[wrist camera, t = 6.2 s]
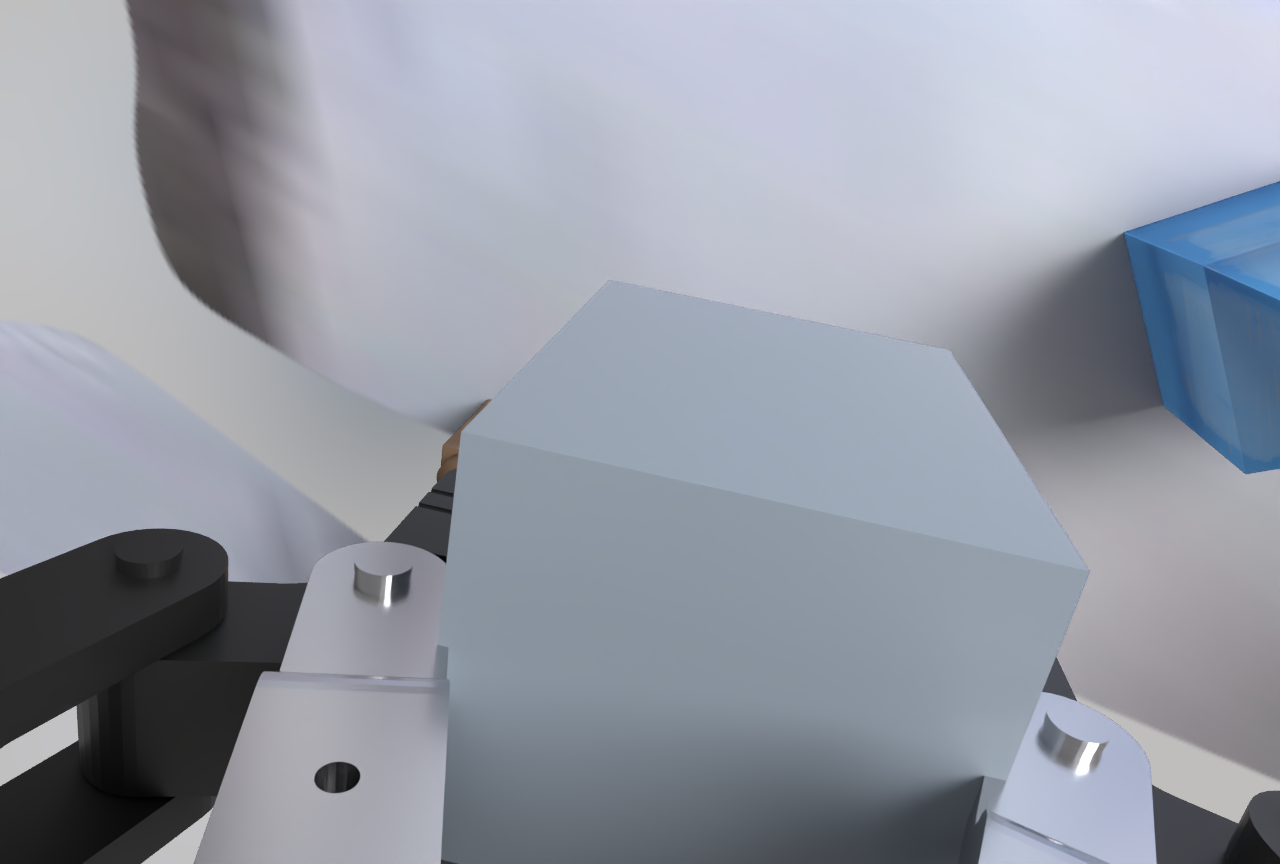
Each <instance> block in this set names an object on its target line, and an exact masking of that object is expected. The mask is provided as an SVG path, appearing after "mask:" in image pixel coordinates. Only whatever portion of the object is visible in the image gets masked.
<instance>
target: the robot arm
mask: <svg viewBox="0 0 1280 864" xmlns="http://www.w3.org/2000/svg"><path fill="white" fill-rule="evenodd" d="M456 473H457V468H455V469H453V470H450V471H448V472H446V474H445V475H444V476H443V477H442V478H441V479H440V480H439V481H438V482H437V484H436V485H435V486H434V487H433V488H432V490H431V492H428V493H427V495H426V496H425V497H424V498H423V499H422V500H421V501H420V502H419V506H418V507H417V506H416V507H415V508H414V509H413V510H412V511H411V512H410V513H409V515H408V516H407V517H406V518H405V519H404V520H403V521H402V522H401V524H400V525H398V527H397V528H396V529H395V530H394V531H393V532H392V533H391V534H390V536H389V537H388V538H387V539H386V540H385V541H384V542H365V543H358V544H353V545H349V546H344V547H342V548H339V549H336V550H334V551H332V552H330V553H328V554H326V555H325V556H324V557H322V558H321V559H320V560H319V561H318V562H317V563H316V564H315V566H314V568H313V570H312V572H311V575H310V578H309V581H308V583H297V584H277V583H253V582H229V581H228V556H227V552H226V551H225V550H224V548H223V547H222V546H221V545H220V544H219V543H217V542H216V541H214V540H212V539H210V538H209V537H206V536H203V535H201V534H197V533H193V532H189V531H183V530H177V529H143V530H134V531H128V532H123V533H119V534H115V535H111V536H108V537H105V538H102V539H99V540H97V541H94V542H91V543H89V544H86V545H84V546H81V547H79V548H76V549H74V550H71V551H69V552H66V553H64V554H61V555H59V556H56V557H54V558H51V559H49V560H46V561H44V562H41V563H39V564H36V565H34V566H31V567H28V568H26V569H23V570H21V571H18V572H16V573H13V574H11V575H8V576H6V577H3V578H1V579H0V748H2V747H3V746H4V745H6V744H8V743H9V742H11V741H13V740H15V739H16V738H18V737H20V736H22V735H24V734H25V733H27V732H29V731H31V730H33V729H34V728H36V727H38V726H40V725H42V724H44V723H45V722H47V721H49V720H51V719H53V718H54V717H56V716H58V715H60V714H62V713H63V712H65V711H67V710H69V709H71V708H72V707H74V706H76V705H77V720H78V736H79V737H78V738H79V740H78V741H77V742H75V743H73V744H71V745H70V746H68V747H66V748H65V749H63V750H61V751H60V752H58V753H56V754H55V755H53V756H51V757H49V758H48V759H46V760H44V761H43V762H41V763H39V764H38V765H36V766H34V767H32V768H31V769H29V770H27V771H26V772H24V773H22V774H21V775H19V776H17V777H15V778H14V779H12V780H10V781H9V782H7V783H6V784H3V785H2V786H0V864H141V863H142V862H143V861H145V860H146V859H147V858H149V857H150V856H151V855H153V854H154V853H155V852H157V851H158V850H159V849H161V848H162V847H163V846H165V845H166V844H167V843H169V842H170V841H171V840H173V839H174V838H175V837H177V836H178V835H179V834H180V833H182V832H183V831H184V830H186V829H187V828H188V827H190V826H191V825H192V824H194V823H195V822H196V821H198V820H199V819H200V818H202V817H203V816H204V815H205V814H206V813H207V812H209V811H210V810H211V809H212V808H213V810H212V812H211V815H210V818H209V821H208V824H207V827H206V830H205V832H204V836H203V838H202V841H201V844H200V847H199V850H198V853H197V855H196V858H195V861H194V864H457V863H453V862H449V861H445V860H442V859H441V847H442V828H443V809H444V790H445V771H446V752H447V733H448V714H449V694H450V679H447V667H448V649H449V647H445V646H441V645H437V642H438V633H439V624H440V615H441V606H442V597H443V588H444V579H445V571H446V562H447V553H448V544H449V535H450V526H451V517H452V508H453V500H454V491H455V482H456ZM213 806H214V807H213ZM958 864H1280V791H1267V792H1262V793H1259V794H1258V795H1256V796H1254V797H1253V798H1252V800H1251V801H1250V803H1249V805H1248V806H1247V808H1246V810H1245V812H1244V814H1243V816H1242V818H1241V820H1240V822H1239V824H1238V823H1235V822H1233V821H1231V820H1228V819H1226V818H1224V817H1221V816H1219V815H1217V814H1214V813H1212V812H1210V811H1207V810H1205V809H1203V808H1200V807H1198V806H1196V805H1194V804H1191V803H1188V802H1187V801H1184V800H1182V799H1179V798H1177V797H1175V796H1173V795H1171V794H1169V793H1167V792H1164V791H1162V790H1161V789H1159V788H1157V787H1155V786H1153V785H1152V782H1151V768H1150V763H1149V760H1148V758H1147V756H1146V753H1145V752H1144V750H1143V749H1142V747H1141V746H1140V745H1139V743H1138V742H1137V741H1136V740H1135V739H1134V738H1133V737H1132V736H1131V735H1130V734H1129V733H1128V732H1127V731H1126V730H1124V729H1123V728H1122V727H1121V726H1119V725H1118V724H1117V723H1115V722H1114V721H1113V720H1111V719H1109V718H1108V717H1106V716H1105V715H1103V714H1102V713H1100V712H1098V711H1096V710H1094V709H1092V708H1090V707H1088V706H1086V705H1084V704H1082V703H1079V702H1077V700H1076V698H1075V696H1074V694H1073V692H1072V689H1071V687H1070V685H1069V683H1068V681H1067V679H1066V677H1065V675H1064V672H1063V670H1062V668H1061V666H1060V664H1059V662H1058V660H1057V658H1055V660H1054V663H1053V665H1052V668H1051V671H1050V673H1049V676H1048V678H1047V681H1046V683H1045V686H1044V688H1043V691H1042V693H1041V696H1040V698H1039V701H1038V703H1037V706H1036V708H1035V711H1034V713H1033V716H1032V718H1031V721H1030V723H1029V726H1028V728H1027V731H1026V733H1025V736H1024V738H1023V741H1022V743H1021V746H1020V748H1019V751H1018V753H1017V756H1016V758H1015V761H1014V763H1013V766H1012V769H1011V771H1010V774H1009V776H1008V779H1007V781H1005V780H1001V779H997V778H992V777H988V776H984V778H983V781H982V783H981V786H980V789H979V791H978V794H977V796H976V799H975V802H974V804H973V807H972V809H971V812H970V815H969V817H968V820H967V823H966V828H965V833H964V837H963V842H962V846H961V851H960V856H959V860H958Z"/></svg>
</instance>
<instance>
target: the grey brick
mask: <svg viewBox="0 0 1280 864" xmlns="http://www.w3.org/2000/svg"><path fill="white" fill-rule="evenodd" d="M1089 573H1090V570H1089V569H1088V567H1087V566H1086V564H1085V563H1084V561H1083V559H1082V558H1081V556H1080V555H1079V553H1078V551H1077V550H1076V548H1075V547H1074V545H1073V544H1072V542H1071V540H1070V539H1069V537H1068V536H1067V534H1066V533H1065V531H1064V529H1063V528H1062V526H1061V525H1060V523H1059V521H1058V520H1057V518H1056V517H1055V515H1054V514H1053V512H1052V510H1051V509H1050V507H1049V506H1048V504H1047V503H1046V501H1045V499H1044V498H1043V496H1042V495H1041V493H1040V492H1039V490H1038V488H1037V487H1036V485H1035V484H1034V482H1033V480H1032V479H1031V477H1030V476H1029V474H1028V473H1027V471H1026V469H1025V468H1024V466H1023V465H1022V463H1021V462H1020V460H1019V458H1018V457H1017V455H1016V454H1015V452H1014V450H1013V449H1012V447H1011V446H1010V444H1009V443H1008V441H1007V439H1006V438H1005V436H1004V435H1003V433H1002V432H1001V430H1000V428H999V427H998V425H997V424H996V422H995V420H994V419H993V417H992V416H991V414H990V413H989V411H988V409H987V408H986V406H985V405H984V403H983V402H982V400H981V398H980V397H979V395H978V394H977V392H976V391H975V389H974V387H973V386H972V384H971V383H970V381H969V379H968V378H967V376H966V375H965V373H964V372H963V370H962V368H961V367H960V365H959V364H958V362H957V361H956V359H955V357H954V356H953V354H952V353H951V351H950V350H947V349H943V348H938V347H933V346H928V345H923V344H918V343H913V342H909V341H904V340H899V339H894V338H889V337H884V336H879V335H875V334H870V333H865V332H860V331H855V330H850V329H845V328H841V327H836V326H831V325H826V324H821V323H816V322H811V321H807V320H802V319H797V318H792V317H787V316H782V315H778V314H773V313H768V312H763V311H758V310H753V309H748V308H744V307H739V306H734V305H729V304H724V303H719V302H714V301H710V300H705V299H700V298H695V297H690V296H685V295H680V294H676V293H671V292H666V291H661V290H656V289H651V288H646V287H642V286H637V285H632V284H627V283H622V282H617V281H613V280H609V281H608V282H607V283H606V284H605V285H604V286H603V287H602V288H601V289H600V290H599V291H598V292H597V293H596V294H595V295H594V296H593V297H592V298H591V299H590V300H589V301H588V302H587V303H586V304H585V305H584V306H583V307H582V308H581V309H580V310H579V312H578V313H577V314H576V315H575V316H574V317H573V318H572V319H571V320H570V321H569V322H568V323H567V324H566V325H565V326H564V327H563V328H562V329H561V330H560V331H559V332H558V333H557V334H556V335H555V336H554V337H553V338H552V339H551V340H550V341H549V342H548V343H547V344H546V345H545V346H544V347H543V348H542V349H541V350H540V351H539V352H538V353H537V354H536V355H535V357H534V358H533V359H532V360H531V361H530V362H529V363H528V364H527V365H526V366H525V367H524V368H523V369H522V370H521V371H520V372H519V373H518V374H517V375H516V376H515V377H514V378H513V379H512V380H511V381H510V382H509V383H508V384H507V385H506V386H505V387H504V388H503V389H502V390H501V391H500V392H499V393H498V394H497V395H496V396H495V397H494V398H493V399H492V401H491V402H490V403H489V404H488V405H487V406H486V407H485V408H484V409H483V410H482V411H481V412H480V413H479V414H478V415H477V416H476V417H475V418H474V419H473V420H472V421H471V422H470V423H469V424H468V425H467V426H466V427H465V428H464V429H463V430H462V431H461V437H460V446H459V455H458V464H457V473H456V482H455V491H454V500H453V508H452V517H451V526H450V535H449V544H448V553H447V562H446V571H445V579H444V588H443V597H442V606H441V615H440V624H439V633H438V642H437V645H441V646H445V647H449V649H448V667H447V679H450V694H449V714H448V733H447V752H446V771H445V790H444V809H443V828H442V847H441V859H442V860H445V861H449V862H453V863H457V864H958V860H959V856H960V851H961V846H962V842H963V837H964V833H965V828H966V823H967V820H968V817H969V815H970V812H971V809H972V807H973V804H974V802H975V799H976V796H977V794H978V791H979V789H980V786H981V783H982V781H983V778H984V776H988V777H992V778H997V779H1001V780H1005V781H1007V779H1008V776H1009V774H1010V771H1011V769H1012V766H1013V763H1014V761H1015V758H1016V756H1017V753H1018V751H1019V748H1020V746H1021V743H1022V741H1023V738H1024V736H1025V733H1026V731H1027V728H1028V726H1029V723H1030V721H1031V718H1032V716H1033V713H1034V711H1035V708H1036V706H1037V703H1038V701H1039V698H1040V696H1041V693H1042V691H1043V688H1044V686H1045V683H1046V681H1047V678H1048V676H1049V673H1050V671H1051V668H1052V665H1053V663H1054V660H1055V658H1056V655H1057V653H1058V650H1059V648H1060V645H1061V643H1062V640H1063V638H1064V635H1065V633H1066V630H1067V628H1068V625H1069V623H1070V620H1071V618H1072V615H1073V613H1074V610H1075V608H1076V605H1077V603H1078V600H1079V598H1080V595H1081V593H1082V590H1083V588H1084V585H1085V583H1086V580H1087V578H1088V575H1089Z"/></svg>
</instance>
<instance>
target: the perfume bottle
mask: <svg viewBox="0 0 1280 864" xmlns="http://www.w3.org/2000/svg"><path fill="white" fill-rule="evenodd" d="M1124 235H1125V240H1126V244H1127V249H1128V253H1129V257H1130V262H1131V266H1132V270H1133V275H1134V279H1135V284H1136V288H1137V292H1138V297H1139V301H1140V305H1141V310H1142V314H1143V318H1144V323H1145V327H1146V332H1147V336H1148V340H1149V345H1150V349H1151V353H1152V358H1153V362H1154V367H1155V371H1156V375H1157V380H1158V384H1159V388H1160V393H1161V397H1162V401H1163V406H1165V407H1166V408H1167V409H1168V410H1169V411H1171V412H1172V413H1173V414H1174V415H1175V416H1177V417H1178V418H1179V419H1180V420H1181V421H1183V422H1184V423H1185V424H1186V425H1187V426H1189V427H1190V428H1191V429H1192V430H1193V431H1194V432H1196V433H1197V434H1198V435H1199V436H1200V437H1202V438H1203V439H1204V440H1205V441H1206V442H1208V443H1209V444H1210V445H1211V446H1212V447H1214V448H1215V449H1216V450H1217V451H1218V452H1220V453H1221V454H1222V455H1223V456H1224V457H1226V458H1227V459H1228V460H1229V461H1230V462H1232V463H1233V464H1234V465H1235V466H1236V467H1238V468H1239V469H1240V470H1241V471H1242V472H1243V473H1245V474H1250V473H1256V472H1262V471H1268V470H1275V469H1280V181H1279V182H1276V183H1273V184H1270V185H1267V186H1264V187H1261V188H1258V189H1255V190H1252V191H1249V192H1246V193H1243V194H1239V195H1236V196H1233V197H1230V198H1227V199H1224V200H1221V201H1218V202H1215V203H1212V204H1209V205H1206V206H1203V207H1200V208H1197V209H1194V210H1191V211H1188V212H1185V213H1182V214H1178V215H1175V216H1172V217H1169V218H1166V219H1163V220H1160V221H1157V222H1154V223H1151V224H1148V225H1145V226H1142V227H1139V228H1136V229H1133V230H1130V231H1127V232H1124Z"/></svg>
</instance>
